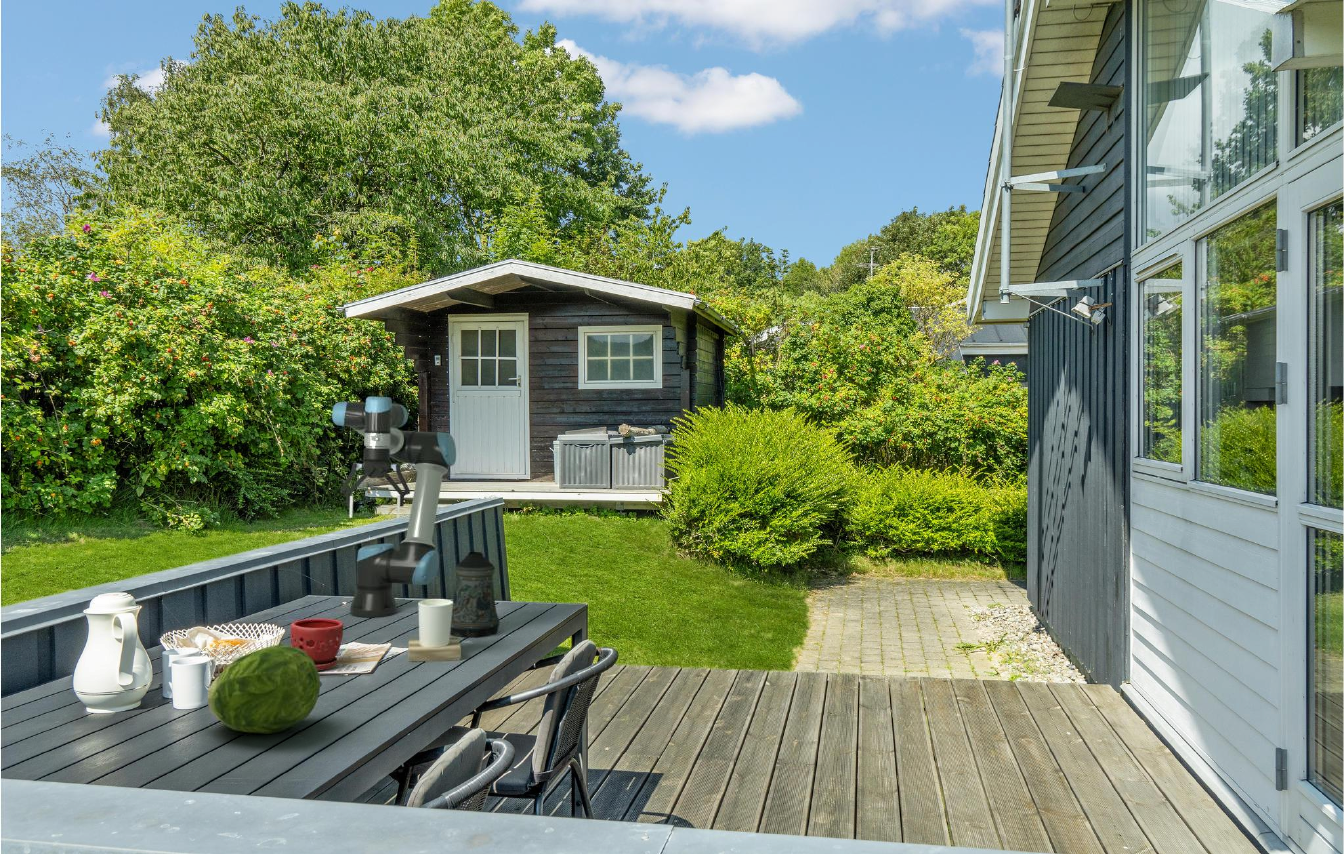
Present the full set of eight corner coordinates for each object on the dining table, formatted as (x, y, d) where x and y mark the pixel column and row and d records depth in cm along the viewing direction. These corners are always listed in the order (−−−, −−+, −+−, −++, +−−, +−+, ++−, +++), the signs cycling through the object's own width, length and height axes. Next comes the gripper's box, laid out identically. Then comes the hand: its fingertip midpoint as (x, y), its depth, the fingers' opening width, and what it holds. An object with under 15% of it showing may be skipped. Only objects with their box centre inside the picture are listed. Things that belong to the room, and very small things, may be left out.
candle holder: (456, 640, 265) (458, 599, 265) (445, 649, 256) (446, 606, 255) (424, 638, 266) (425, 597, 266) (411, 647, 256) (412, 604, 256)
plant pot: (324, 675, 237) (325, 629, 236) (278, 670, 239) (280, 625, 239) (351, 662, 249) (352, 619, 249) (308, 658, 252) (309, 615, 252)
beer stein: (469, 640, 278) (472, 559, 277) (429, 629, 289) (432, 551, 289) (510, 631, 291) (513, 554, 291) (469, 621, 303) (472, 546, 302)
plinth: (408, 649, 266) (408, 638, 266) (457, 647, 270) (457, 637, 270) (408, 661, 252) (409, 651, 252) (460, 659, 256) (460, 649, 256)
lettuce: (250, 710, 209) (231, 636, 206) (343, 702, 205) (324, 627, 202) (196, 755, 191) (174, 675, 188) (296, 748, 187) (275, 666, 183)
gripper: (332, 446, 269) (330, 518, 269) (420, 449, 276) (417, 518, 276) (334, 445, 276) (331, 515, 276) (419, 448, 283) (417, 516, 284)
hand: (374, 517), depth 276 cm, fingers open, 13 cm apart
